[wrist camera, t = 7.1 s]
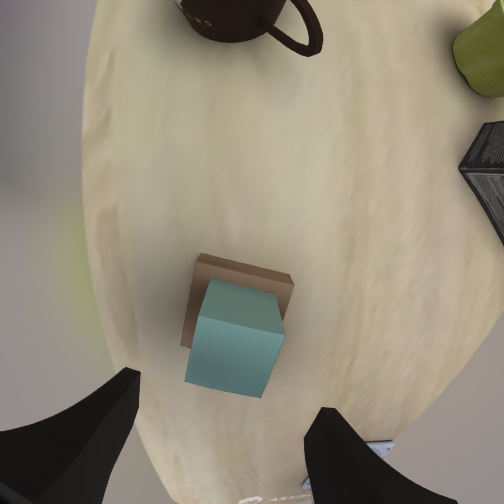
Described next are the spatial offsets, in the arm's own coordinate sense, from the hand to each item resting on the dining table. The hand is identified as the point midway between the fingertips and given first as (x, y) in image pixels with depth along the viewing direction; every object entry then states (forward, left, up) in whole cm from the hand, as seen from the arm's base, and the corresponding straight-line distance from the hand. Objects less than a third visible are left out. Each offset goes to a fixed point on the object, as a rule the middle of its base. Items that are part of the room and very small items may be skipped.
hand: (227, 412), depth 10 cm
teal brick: (0, 0, -8) cm, 8 cm away
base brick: (0, 0, -10) cm, 10 cm away
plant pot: (+25, -15, -11) cm, 31 cm away
